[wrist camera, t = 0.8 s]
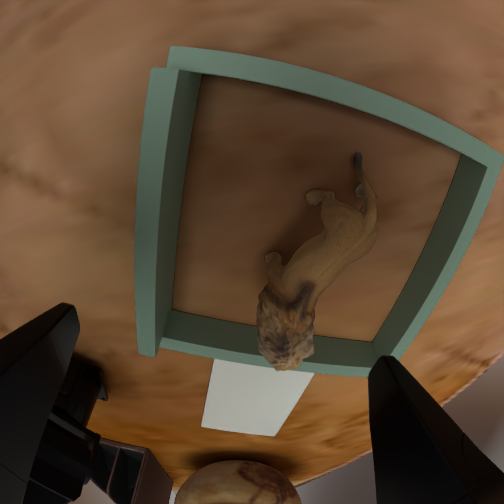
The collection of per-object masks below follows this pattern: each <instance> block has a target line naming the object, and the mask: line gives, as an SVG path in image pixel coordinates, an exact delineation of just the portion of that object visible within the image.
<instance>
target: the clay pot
mask: <svg viewBox="0 0 504 504" xmlns="http://www.w3.org/2000/svg"><path fill="white" fill-rule="evenodd" d="M174 504H301V500H300V497H299V495H298V493H297V491H296V489H295V487H294V486H293V485H292V483H291V482H290V481H289V480H288V479H287V477H286V476H285V475H283V474H282V473H281V472H279V471H278V470H276V469H274V468H272V467H270V466H268V465H265V464H262V463H259V462H254V461H246V460H227V461H221V462H216V463H212V464H209V465H207V466H205V467H203V468H201V469H199V470H198V471H196V472H195V473H193V474H192V475H191V476H190V477H189V478H188V479H187V480H186V481H185V482H184V484H183V485H182V486H181V487H180V489H179V491H178V493H177V495H176V497H175V502H174Z"/></svg>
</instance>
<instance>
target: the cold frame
mask: <svg viewBox="0 0 504 504" xmlns="http://www.w3.org/2000/svg"><path fill="white" fill-rule="evenodd" d="M202 74H207V75H214V76H221V77H227V78H233V79H239V80H244V81H250V82H255V83H260V84H265V85H269V86H274V87H278V88H283V89H287V90H291V91H295V92H299V93H303V94H307V95H310V96H314V97H318V98H321V99H325V100H328V101H331V102H335V103H338V104H341V105H344V106H347V107H350V108H353V109H356V110H359V111H362V112H365V113H368V114H371V115H374V116H376V117H379V118H382V119H384V120H387V121H390V122H392V123H395V124H397V125H400V126H402V127H405V128H407V129H409V130H412V131H414V132H416V133H419V134H421V135H423V136H426V137H428V138H430V139H432V140H434V141H436V142H439V143H441V144H443V145H445V146H447V147H449V148H451V149H453V150H455V151H457V152H459V153H461V154H462V155H461V158H460V161H459V164H458V167H457V170H456V173H455V175H454V178H453V181H452V184H451V186H450V189H449V191H448V194H447V197H446V199H445V202H444V204H443V206H442V209H441V211H440V214H439V216H438V218H437V221H436V223H435V225H434V228H433V230H432V232H431V234H430V236H429V239H428V241H427V243H426V245H425V247H424V249H423V251H422V253H421V256H420V258H419V260H418V262H417V264H416V266H415V268H414V270H413V272H412V273H411V275H410V277H409V279H408V281H407V283H406V285H405V287H404V289H403V290H402V292H401V294H400V296H399V298H398V300H397V301H396V303H395V305H394V307H393V308H392V310H391V312H390V314H389V315H388V317H387V319H386V320H385V322H384V324H383V325H382V327H381V329H380V330H379V332H378V334H377V335H376V337H375V338H374V340H373V342H365V341H356V340H347V339H338V338H330V337H323V336H315V335H313V341H312V342H313V344H314V353H313V355H311V356H309V357H307V358H303V362H302V363H301V364H300V366H299V367H298V368H297V369H292V371H300V372H310V373H320V374H331V375H344V376H359V377H368V375H369V372H370V370H371V369H372V367H373V366H374V364H375V363H376V361H377V360H378V358H379V357H380V356H382V355H391V356H394V357H395V358H396V359H397V360H398V361H399V359H400V358H401V357H402V355H403V354H404V352H405V351H406V350H407V348H408V347H409V345H410V344H411V343H412V341H413V340H414V338H415V337H416V335H417V334H418V332H419V331H420V329H421V328H422V326H423V325H424V323H425V322H426V320H427V319H428V317H429V316H430V314H431V312H432V311H433V309H434V308H435V306H436V304H437V303H438V301H439V299H440V298H441V296H442V294H443V293H444V291H445V289H446V288H447V286H448V284H449V282H450V281H451V279H452V277H453V275H454V273H455V271H456V270H457V268H458V266H459V264H460V262H461V260H462V258H463V256H464V254H465V252H466V250H467V248H468V246H469V244H470V242H471V240H472V238H473V236H474V234H475V232H476V229H477V227H478V225H479V223H480V221H481V218H482V216H483V214H484V211H485V209H486V207H487V204H488V202H489V199H490V197H491V194H492V192H493V189H494V186H495V184H496V181H497V178H498V175H499V172H500V170H501V167H502V164H503V161H504V156H503V155H502V154H500V153H499V152H497V151H496V150H494V149H493V148H491V147H489V146H488V145H486V144H485V143H483V142H481V141H480V140H478V139H476V138H474V137H473V136H471V135H469V134H467V133H466V132H464V131H462V130H460V129H458V128H457V127H455V126H453V125H451V124H449V123H447V122H445V121H443V120H441V119H439V118H437V117H435V116H433V115H431V114H429V113H427V112H425V111H423V110H421V109H418V108H416V107H414V106H412V105H410V104H407V103H405V102H403V101H400V100H398V99H396V98H393V97H391V96H388V95H386V94H383V93H381V92H378V91H375V90H373V89H370V88H367V87H365V86H362V85H359V84H356V83H353V82H350V81H347V80H344V79H341V78H338V77H335V76H332V75H328V74H325V73H321V72H318V71H314V70H311V69H307V68H303V67H299V66H296V65H291V64H287V63H283V62H279V61H274V60H269V59H265V58H260V57H254V56H249V55H243V54H237V53H231V52H224V51H217V50H209V49H201V48H191V47H180V46H170V51H169V56H168V61H167V66H166V68H158V67H152V68H151V73H150V79H149V85H148V91H147V97H146V104H145V111H144V119H143V127H142V135H141V144H140V154H139V165H138V178H137V193H136V213H135V306H136V326H137V341H138V354H142V355H146V356H150V357H154V358H155V357H156V354H157V351H158V348H159V347H161V348H166V349H170V350H175V351H179V352H184V353H188V354H193V355H198V356H203V357H208V358H213V359H219V360H224V361H230V362H236V363H242V364H248V365H255V366H261V367H268V368H274V367H273V366H272V365H270V363H269V362H268V361H266V359H265V358H264V356H263V354H261V353H260V352H259V343H258V339H257V334H258V327H257V326H251V325H245V324H240V323H234V322H229V321H224V320H218V319H213V318H208V317H203V316H198V315H193V314H189V313H184V312H179V311H175V310H172V299H173V285H174V272H175V260H176V249H177V239H178V229H179V220H180V211H181V203H182V195H183V187H184V179H185V172H186V165H187V158H188V152H189V145H190V139H191V133H192V127H193V121H194V115H195V109H196V104H197V99H198V93H199V88H200V83H201V78H202Z"/></svg>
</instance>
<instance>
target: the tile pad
mask: <svg viewBox="0 0 504 504" xmlns="http://www.w3.org/2000/svg"><path fill="white" fill-rule="evenodd" d="M313 375H314V373H310V372H300V371H292V370H286V371H281V370H280V371H276V370H275V369H274V368H268V367H261V366H255V365H248V364H242V363H236V362H230V361H224V360H219V359H214V362H213V367H212V372H211V377H210V382H209V388H208V393H207V398H206V403H205V408H204V413H203V418H202V424H201V427H207V428H212V429H219V430H225V431H232V432H240V433H248V434H257V435H267V436H275V435H276V433H277V432H278V430H279V429H280V427H281V426H282V424H283V423H284V421H285V420H286V418H287V417H288V415H289V414H290V412H291V411H292V409H293V408H294V406H295V404H296V403H297V401H298V400H299V398H300V396H301V395H302V393H303V392H304V390H305V388H306V387H307V385H308V383H309V382H310V380H311V378H312V377H313Z"/></svg>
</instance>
